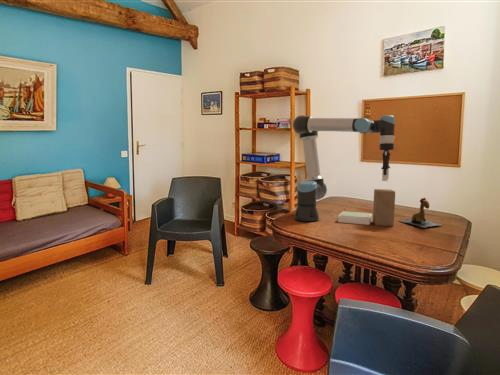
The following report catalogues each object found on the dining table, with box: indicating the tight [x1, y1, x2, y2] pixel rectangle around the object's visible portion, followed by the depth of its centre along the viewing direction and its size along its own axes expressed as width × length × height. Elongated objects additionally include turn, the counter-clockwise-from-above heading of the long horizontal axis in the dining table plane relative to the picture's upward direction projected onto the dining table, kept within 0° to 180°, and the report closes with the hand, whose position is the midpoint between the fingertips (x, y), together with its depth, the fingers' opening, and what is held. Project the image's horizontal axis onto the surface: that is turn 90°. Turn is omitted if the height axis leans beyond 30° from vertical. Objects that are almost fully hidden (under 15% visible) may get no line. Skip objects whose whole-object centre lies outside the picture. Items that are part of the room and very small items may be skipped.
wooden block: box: [372, 188, 396, 227], centre depth 198 cm, size 10×10×20 cm
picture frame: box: [337, 210, 373, 226], centre depth 208 cm, size 18×18×4 cm
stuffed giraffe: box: [399, 197, 443, 228], centre depth 201 cm, size 16×18×16 cm
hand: (385, 180), depth 196 cm, fingers open, 13 cm apart
